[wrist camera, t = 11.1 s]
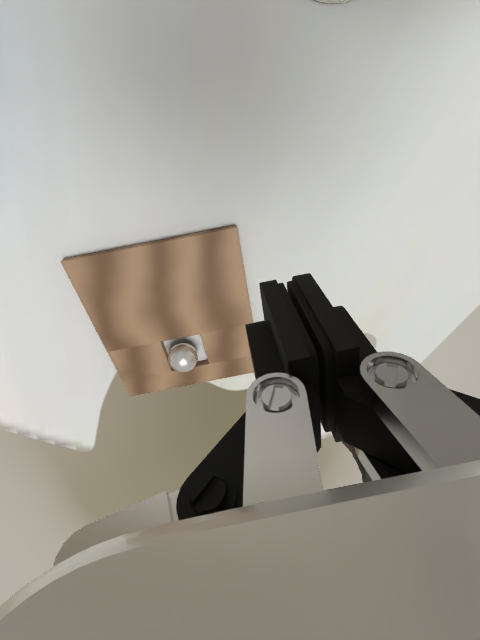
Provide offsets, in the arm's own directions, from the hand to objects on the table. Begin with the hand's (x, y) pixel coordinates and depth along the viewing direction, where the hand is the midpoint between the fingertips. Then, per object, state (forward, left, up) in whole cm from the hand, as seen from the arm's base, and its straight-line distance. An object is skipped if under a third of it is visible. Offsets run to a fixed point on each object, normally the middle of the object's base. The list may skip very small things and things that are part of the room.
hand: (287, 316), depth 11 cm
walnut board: (+10, +16, -27) cm, 33 cm away
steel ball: (+10, +21, -25) cm, 34 cm away
